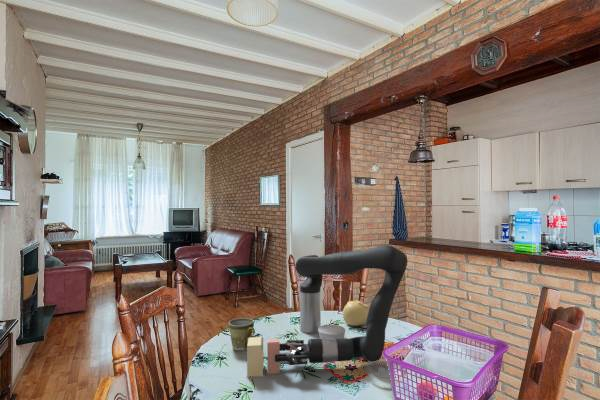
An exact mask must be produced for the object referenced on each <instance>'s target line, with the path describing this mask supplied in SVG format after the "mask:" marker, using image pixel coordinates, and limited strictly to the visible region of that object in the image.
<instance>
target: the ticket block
mask: <svg viewBox="0 0 600 400" xmlns="http://www.w3.org/2000/svg"><path fill="white" fill-rule="evenodd" d="M246 352H247V353H246V372H247V373H246V377H247V378H258V376H260V377H261V376H262V377H263V376H264V377H266V376H267V375H266V374H267V371H266V369H267V367H266V366H264V337H263V336H261V337H260V336H258V337H257V336H255V337H254V336H252V337H251V338H248V344H247V350H246ZM250 376H251V377H250ZM252 376H253V377H252ZM255 376H257V377H255ZM260 377H259V378H260Z"/></svg>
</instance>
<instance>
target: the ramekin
mask: <svg viewBox="0 0 600 400" xmlns="http://www.w3.org/2000/svg"><path fill="white" fill-rule="evenodd" d="M317 333H318V335H319V336H318V337H319V339H324V338H330V339H345V334H346V328H345V327H343V326H342V325H337V324H323V325H321V327H319V328H318V332H317Z"/></svg>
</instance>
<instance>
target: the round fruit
mask: <svg viewBox="0 0 600 400" xmlns="http://www.w3.org/2000/svg"><path fill="white" fill-rule="evenodd" d="M369 308H370V305H368V304H366V303H363V302H362V301H361V300H349V301H347V302H346V305H344V308H343V310H342V318H343V320H344V322H345V323H346V325H349V326H355V327H356V326H363V325H364V324H365V325H366V320H367V316H368V312H369Z"/></svg>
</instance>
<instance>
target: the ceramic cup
mask: <svg viewBox="0 0 600 400" xmlns="http://www.w3.org/2000/svg"><path fill="white" fill-rule="evenodd" d="M254 327H255V319H252V318H249V317H238V318H233V319H231V320H229V321H228V329H229V330H228V331H229V334H230V340H231V341H230V342H231V346H232V349H233V350H234V349H235V351H237V350H244V351H247V350H246V349H247V344H248V338H252V337H254V335H255V334H256V330H255V328H254Z"/></svg>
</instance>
